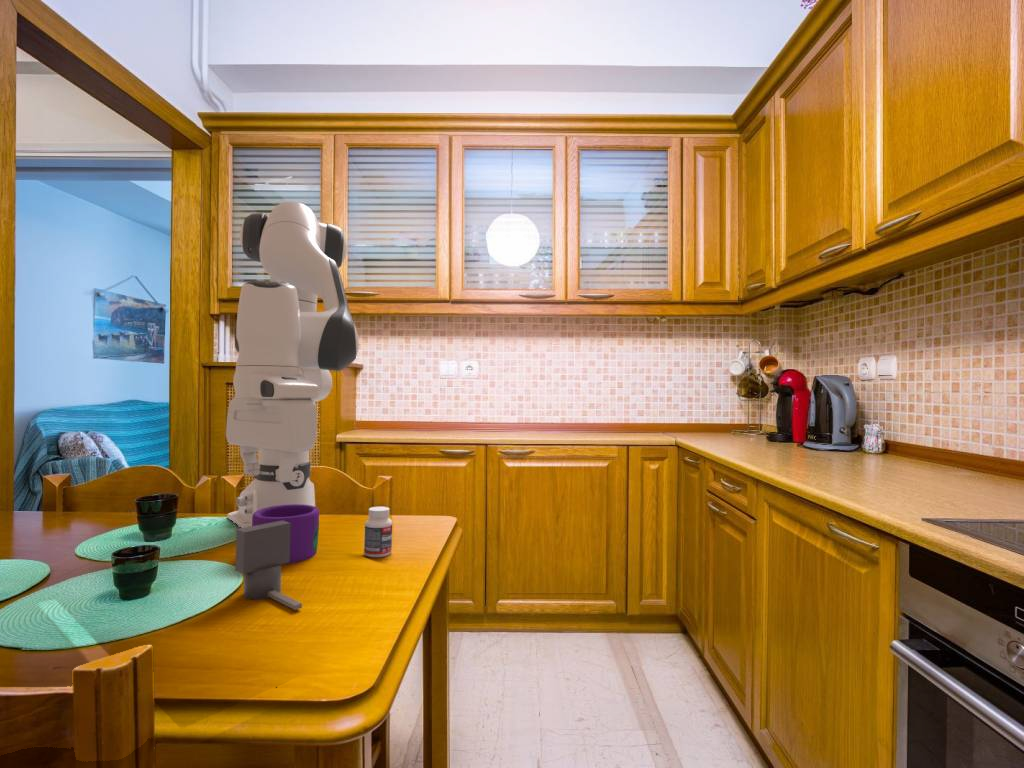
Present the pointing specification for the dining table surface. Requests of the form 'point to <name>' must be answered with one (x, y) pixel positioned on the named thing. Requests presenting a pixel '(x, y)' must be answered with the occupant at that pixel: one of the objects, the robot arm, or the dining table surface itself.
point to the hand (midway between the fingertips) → (267, 478)
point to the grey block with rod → (264, 560)
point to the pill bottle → (378, 533)
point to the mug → (294, 527)
